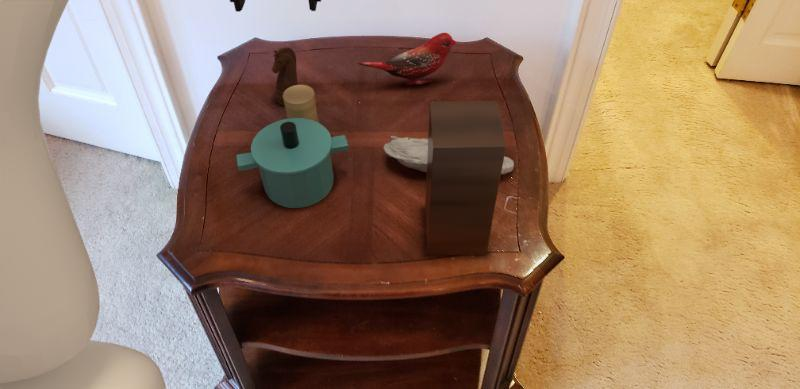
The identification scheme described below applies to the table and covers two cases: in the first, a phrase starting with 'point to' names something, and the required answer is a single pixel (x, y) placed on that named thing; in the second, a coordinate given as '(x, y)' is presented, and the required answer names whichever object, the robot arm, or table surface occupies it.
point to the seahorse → (421, 153)
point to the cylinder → (300, 102)
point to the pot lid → (291, 146)
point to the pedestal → (462, 176)
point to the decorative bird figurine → (417, 60)
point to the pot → (297, 179)
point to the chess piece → (284, 71)
